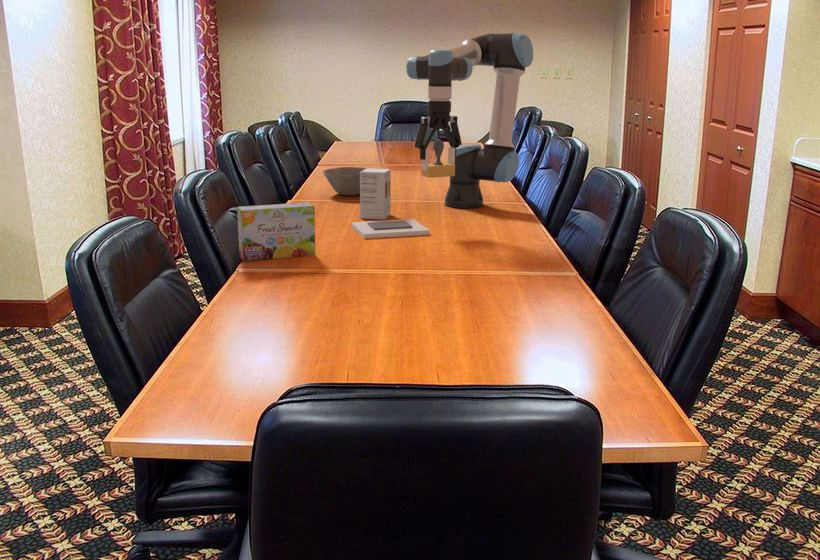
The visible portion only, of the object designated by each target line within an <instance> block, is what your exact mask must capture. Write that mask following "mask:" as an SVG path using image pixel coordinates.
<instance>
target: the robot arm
mask: <svg viewBox="0 0 820 560" xmlns="http://www.w3.org/2000/svg"><path fill="white" fill-rule="evenodd" d="M533 60H534V49H533V43H532V41H531V38H530V36H528V35H527V34H525V33H517V32H514V33H513V32H510V33H508V32H507V33H487V34H482V35H478V36H476V37H473V38H470V39H466V40H464V41H462V42H461V44H459V45H457V46H454V47H450V48H447V49H444V50H443V49H441V50H439V49H436V50H435V49H434V50H430V52H429V54H427V55H423V56H419V55H417V56H411V57H409V58H408V60H407V62H406V65H405V69H406V74H407V77H409V78H410V79H411V80H418V81H419V80H424V81H428V85H427V86H428V88H427V89H428V90H427V91H428V93H427V98H428V101H427V112H428V116H426V117H424V116H421V117H420V125H419V129H418V131H417V136H416V139H415V143H414V148H416V149H418V150H419V159H420V160H421V164H420V165H421V166H420V167H421V169H422V170H428V164H429V149H428V146H429V145H430V142H431V141H432V138H433V136H434V134H435V132H436V131H437V130H438V131H439V130H442V131H443V133H444V136H445V138H446V141H447V142H448V144H449V146H448V147H447V163H449V164H453V165H455V176H449V185H448V189H447V191H446V194H445V197H444V205H445V206H446V207H449V208H456V209H475V208H480V207H483V206H484V196H483V193H482V191H481V186H480V183H481V182H480V181H487V182H495V183H509V182H511V181H512V180H513V179H514V178H515V176H516V174H517V172H518V170H519V166H520V156H519V154H518V153H517V152H516V151H515V149H516V147H515V145H514V144H513V134H514V125H515V118H516V113H517V112H516V110H517V104H518V97H519V96H518V94H519V88H520V87H519V86H520V81H521V80H520V79H521V77H522V76H523V75H524V74H525V73H526V68H529V67H530V66H531V65H532V64H533ZM475 66H487V67H493V68H492V69H493V72H495V74H496V80H495V87H494V95H493V101H492V102H493V103H492V111H491V120H490V126H489V135H488V140H486V142H484V143H483V149H482V146H481V144H468V145H462V139H461V138H462V137H461V134H460V130H459V126H458V125H459V124H458V119H459V118H458V116H456V115H451V114H450V113H451V112H452V101H450V100H451V99H452V95H453V94H452V87H453V86H452V83H453V81H458V82H462V81H465V80H468V79H469V78H470V77H471V75H472V74H473V71H474V70H473V68H474V67H475ZM421 169H420V170H421Z"/></svg>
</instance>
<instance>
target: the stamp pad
mask: <svg viewBox="0 0 820 560" xmlns="http://www.w3.org/2000/svg"><path fill="white" fill-rule="evenodd" d="M350 224H351V228H352V229H353V230H354V231H355V232H356V233H358V234H359V235H360V237H362V239H364V240H366V239H378V238H380V239H381V238H394V237H413V236H428V235H430V229H429V228H427V227H426V226H424V225H423V224H422V223H420V222H418V220H416V219H414V218H409V219H408V218H407V219H406V218H405V219H404V218H403V219H389V220H386V219H385V220H369V221H352V222H351V223H350Z"/></svg>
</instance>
